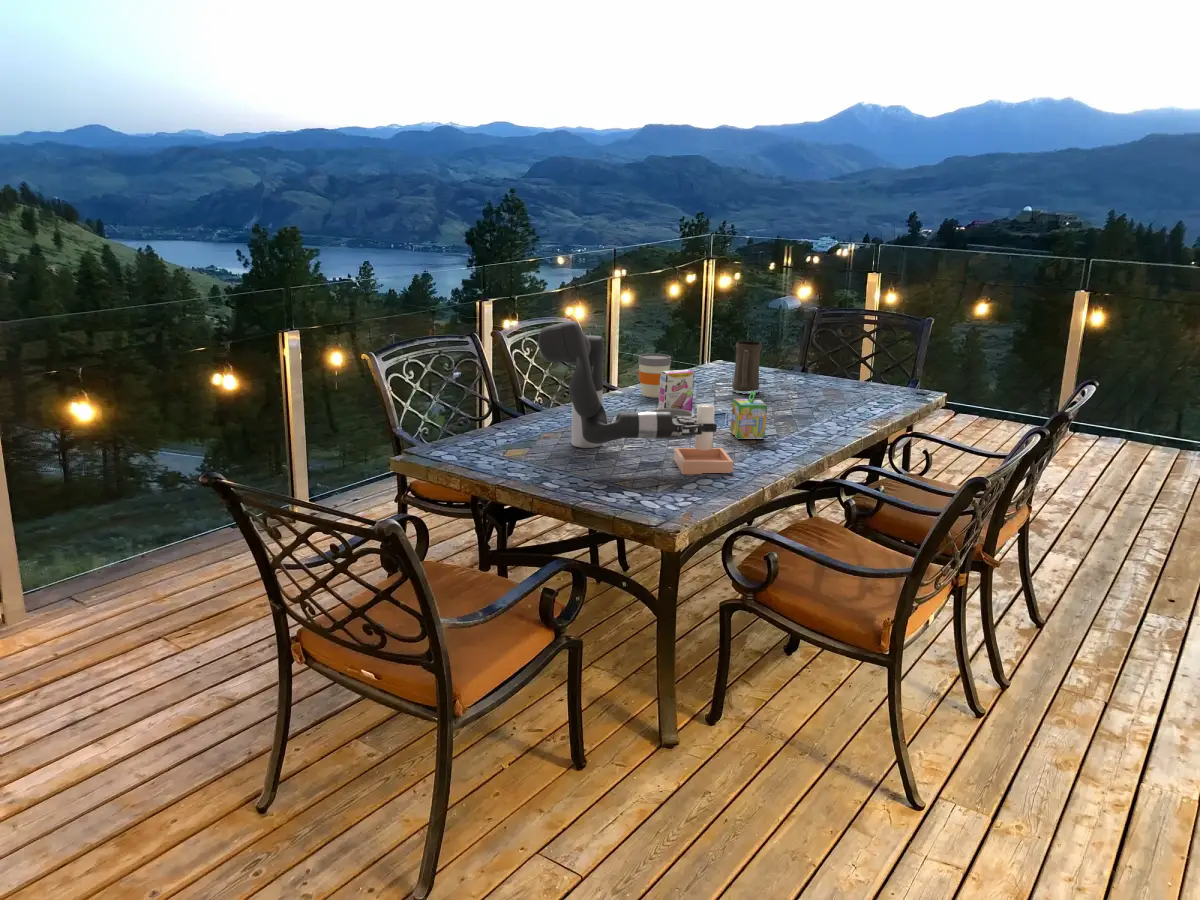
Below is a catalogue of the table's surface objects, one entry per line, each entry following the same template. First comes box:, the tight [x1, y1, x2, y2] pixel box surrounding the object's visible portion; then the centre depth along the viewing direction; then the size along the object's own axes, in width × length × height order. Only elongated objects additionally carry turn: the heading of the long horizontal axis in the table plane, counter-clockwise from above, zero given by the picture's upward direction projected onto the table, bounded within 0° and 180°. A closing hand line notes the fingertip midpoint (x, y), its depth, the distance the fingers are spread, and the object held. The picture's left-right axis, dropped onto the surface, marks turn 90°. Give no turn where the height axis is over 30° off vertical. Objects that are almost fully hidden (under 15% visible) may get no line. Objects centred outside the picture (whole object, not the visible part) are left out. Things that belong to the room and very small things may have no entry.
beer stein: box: [732, 340, 763, 391], centre depth 342 cm, size 15×11×20 cm
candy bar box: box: [657, 369, 695, 413], centre depth 301 cm, size 11×5×16 cm, turn 115°
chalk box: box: [729, 390, 768, 438], centre depth 279 cm, size 9×9×15 cm
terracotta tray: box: [673, 447, 734, 475], centre depth 248 cm, size 14×14×4 cm
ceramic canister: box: [694, 403, 716, 450], centre depth 245 cm, size 5×5×12 cm
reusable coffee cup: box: [637, 353, 672, 398], centre depth 336 cm, size 13×13×15 cm
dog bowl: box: [646, 408, 696, 436], centre depth 289 cm, size 17×18×5 cm
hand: (714, 425), depth 245 cm, fingers closed on ceramic canister, 4 cm apart
